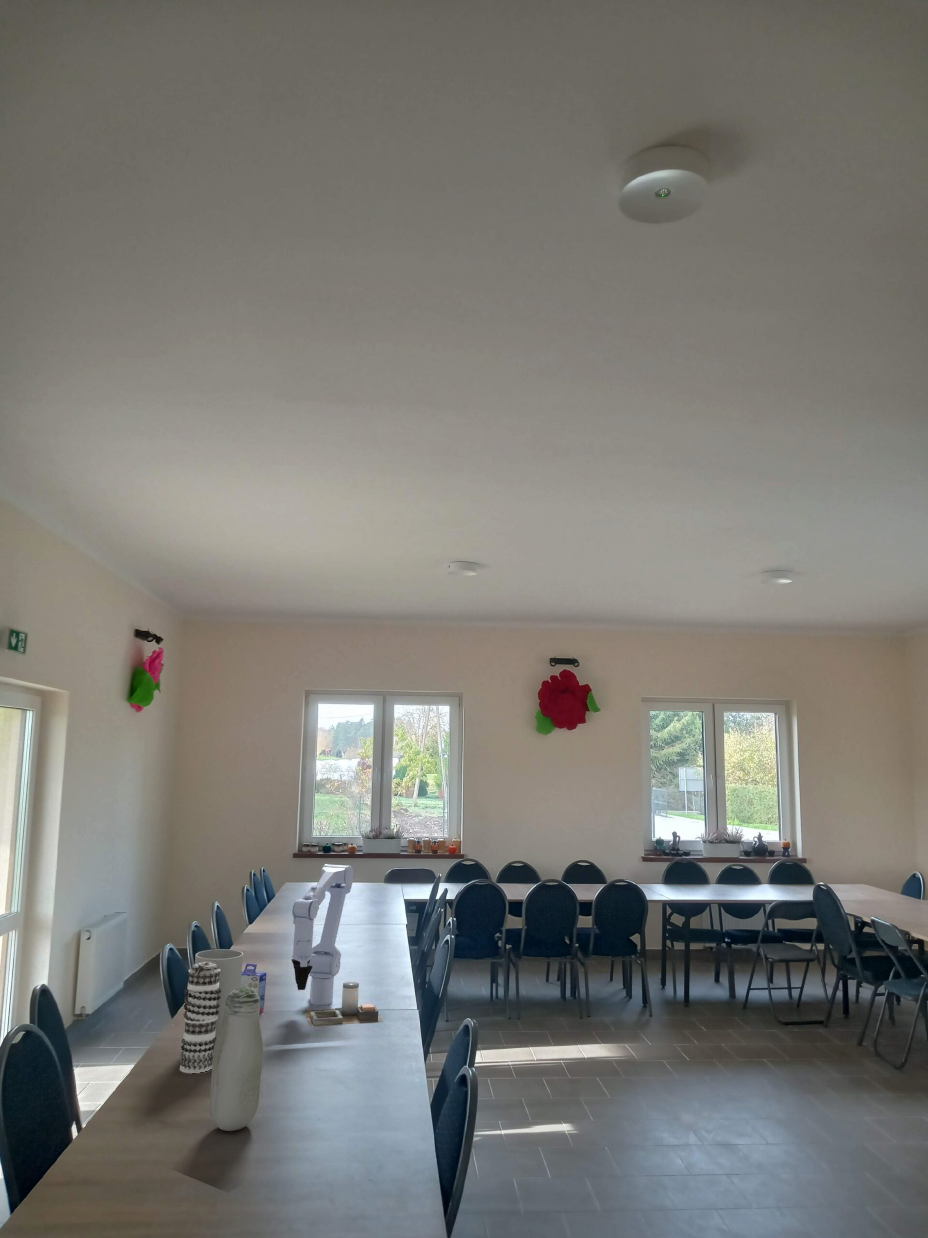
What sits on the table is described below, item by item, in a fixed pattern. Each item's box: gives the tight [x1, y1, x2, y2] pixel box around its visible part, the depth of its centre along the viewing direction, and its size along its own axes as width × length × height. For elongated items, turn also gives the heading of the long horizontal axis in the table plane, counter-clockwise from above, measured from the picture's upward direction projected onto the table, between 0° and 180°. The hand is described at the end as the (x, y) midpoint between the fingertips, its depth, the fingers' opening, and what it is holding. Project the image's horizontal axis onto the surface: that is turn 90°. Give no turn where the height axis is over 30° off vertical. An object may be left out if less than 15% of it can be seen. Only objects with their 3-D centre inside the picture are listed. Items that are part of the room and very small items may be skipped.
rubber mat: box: [334, 1007, 356, 1016], centre depth 265 cm, size 8×8×1 cm
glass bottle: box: [209, 987, 264, 1132], centre depth 184 cm, size 10×10×28 cm
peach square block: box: [360, 1003, 376, 1011], centre depth 260 cm, size 4×4×3 cm
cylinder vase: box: [194, 948, 244, 1043], centre depth 230 cm, size 12×12×25 cm
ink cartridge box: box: [241, 963, 267, 1014], centre depth 264 cm, size 10×6×14 cm, turn 78°
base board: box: [302, 1005, 384, 1027], centre depth 261 cm, size 16×22×4 cm
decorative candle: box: [179, 962, 221, 1075], centre depth 218 cm, size 9×9×25 cm
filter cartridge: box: [341, 981, 360, 1013], centre depth 266 cm, size 5×5×8 cm
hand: (300, 986), depth 261 cm, fingers open, 7 cm apart
